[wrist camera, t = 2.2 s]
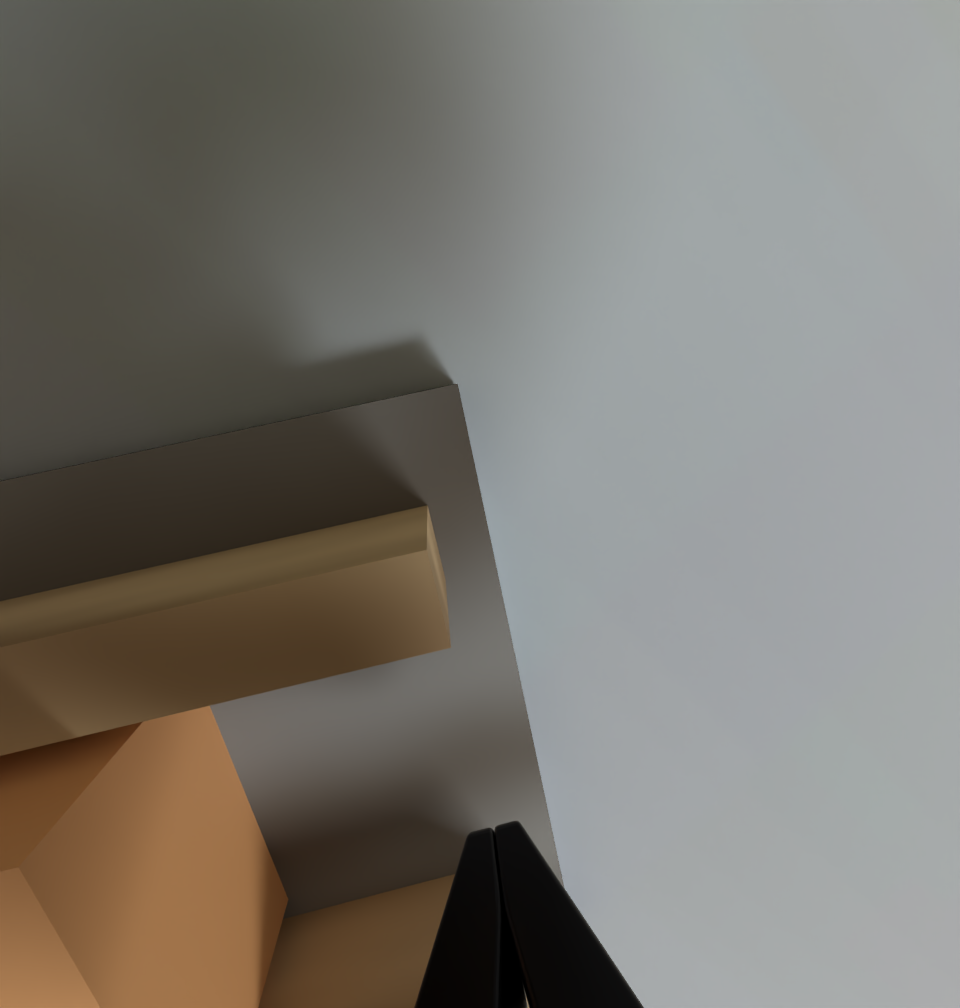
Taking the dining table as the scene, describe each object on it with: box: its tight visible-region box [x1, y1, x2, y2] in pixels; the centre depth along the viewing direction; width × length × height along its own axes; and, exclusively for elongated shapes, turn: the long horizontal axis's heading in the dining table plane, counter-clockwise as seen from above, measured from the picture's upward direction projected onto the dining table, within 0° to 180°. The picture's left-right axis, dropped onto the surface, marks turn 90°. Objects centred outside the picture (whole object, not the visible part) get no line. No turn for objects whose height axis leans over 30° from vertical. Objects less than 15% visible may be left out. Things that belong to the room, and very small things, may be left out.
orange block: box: [0, 706, 288, 1008], centre depth 8 cm, size 6×6×4 cm
